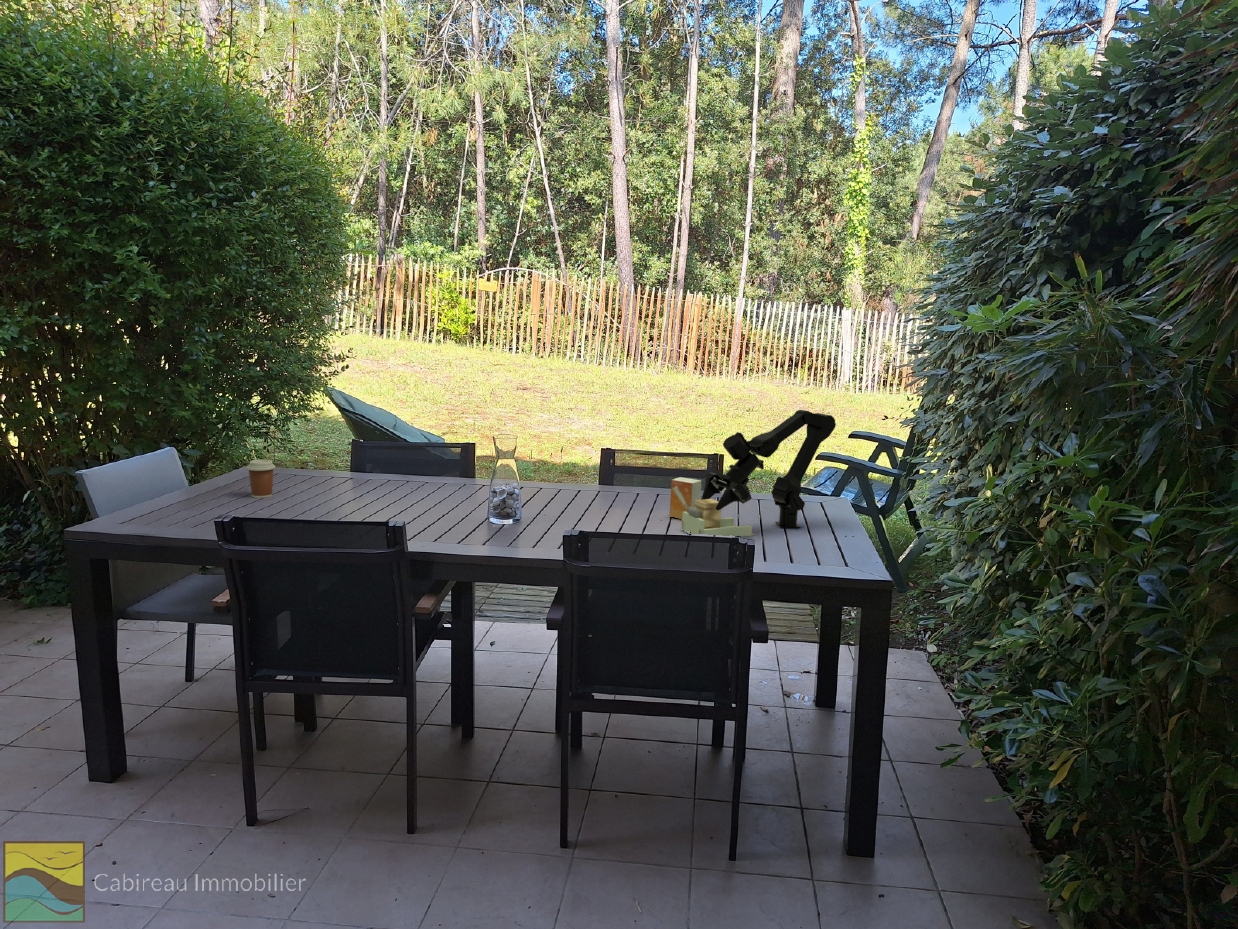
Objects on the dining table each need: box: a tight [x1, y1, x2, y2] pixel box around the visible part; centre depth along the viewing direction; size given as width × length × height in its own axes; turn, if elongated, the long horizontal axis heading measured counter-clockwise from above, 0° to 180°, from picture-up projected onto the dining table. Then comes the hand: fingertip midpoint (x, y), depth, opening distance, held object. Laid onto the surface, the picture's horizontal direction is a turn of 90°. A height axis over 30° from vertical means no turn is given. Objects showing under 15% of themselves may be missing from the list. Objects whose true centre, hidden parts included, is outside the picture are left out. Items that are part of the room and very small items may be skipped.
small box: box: [669, 476, 702, 520], centre depth 290 cm, size 8×6×13 cm
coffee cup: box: [246, 458, 276, 499], centre depth 300 cm, size 9×9×12 cm
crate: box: [695, 498, 722, 529], centre depth 271 cm, size 6×6×10 cm
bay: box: [681, 506, 755, 538], centre depth 273 cm, size 19×12×8 cm, turn 114°
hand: (708, 506), depth 270 cm, fingers open, 9 cm apart
